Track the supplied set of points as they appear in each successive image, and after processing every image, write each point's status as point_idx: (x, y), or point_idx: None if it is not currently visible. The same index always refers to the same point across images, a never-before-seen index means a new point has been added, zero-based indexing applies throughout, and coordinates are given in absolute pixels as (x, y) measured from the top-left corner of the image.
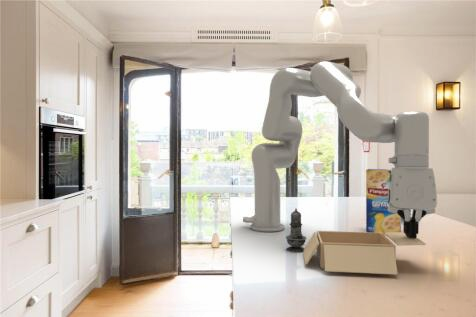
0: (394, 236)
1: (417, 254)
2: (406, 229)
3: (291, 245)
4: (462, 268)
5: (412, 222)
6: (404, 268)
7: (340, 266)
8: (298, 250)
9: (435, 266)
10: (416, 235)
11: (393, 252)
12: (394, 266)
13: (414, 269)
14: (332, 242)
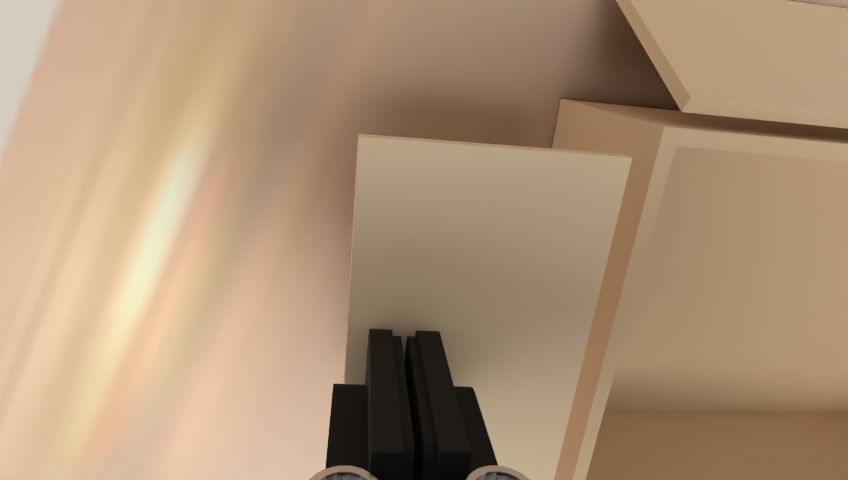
0: (524, 416)
1: (249, 474)
2: (471, 407)
3: None
4: (43, 225)
5: (424, 457)
6: None
7: None
8: None
9: (225, 253)
10: (372, 337)
11: (680, 67)
12: (648, 4)
13: None
14: (839, 462)
